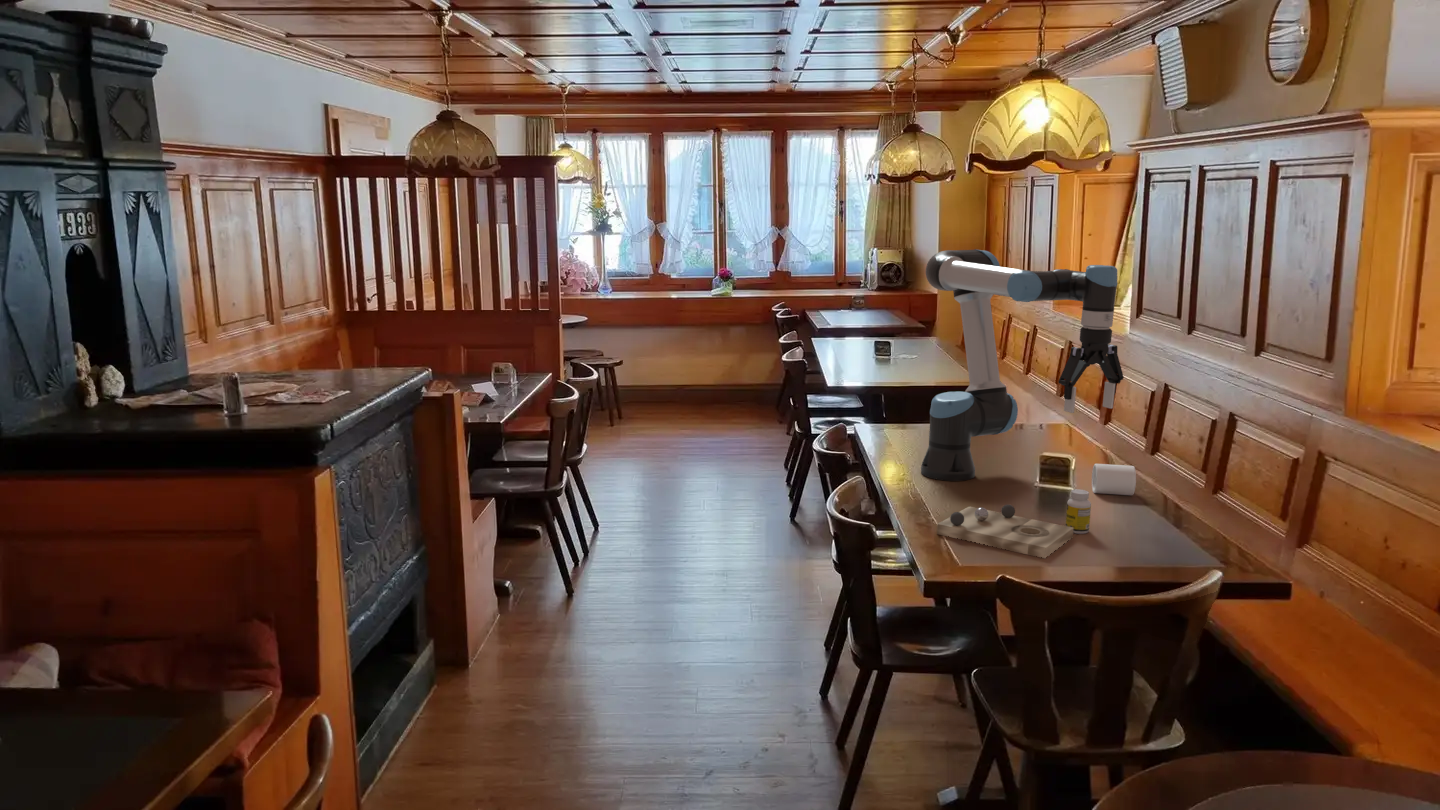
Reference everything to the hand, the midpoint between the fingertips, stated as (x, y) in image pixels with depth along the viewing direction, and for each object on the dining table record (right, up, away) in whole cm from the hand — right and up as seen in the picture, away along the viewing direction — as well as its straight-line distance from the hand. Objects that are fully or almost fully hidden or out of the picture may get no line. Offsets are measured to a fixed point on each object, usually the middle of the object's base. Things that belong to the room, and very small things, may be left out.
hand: (1088, 409), depth 259 cm
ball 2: (-25, -24, -16) cm, 38 cm away
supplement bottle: (-9, -29, -16) cm, 35 cm away
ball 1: (-39, -25, -22) cm, 51 cm away
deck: (-27, -30, -21) cm, 46 cm away
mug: (+12, -23, +17) cm, 31 cm away
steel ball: (-32, -25, -18) cm, 45 cm away
